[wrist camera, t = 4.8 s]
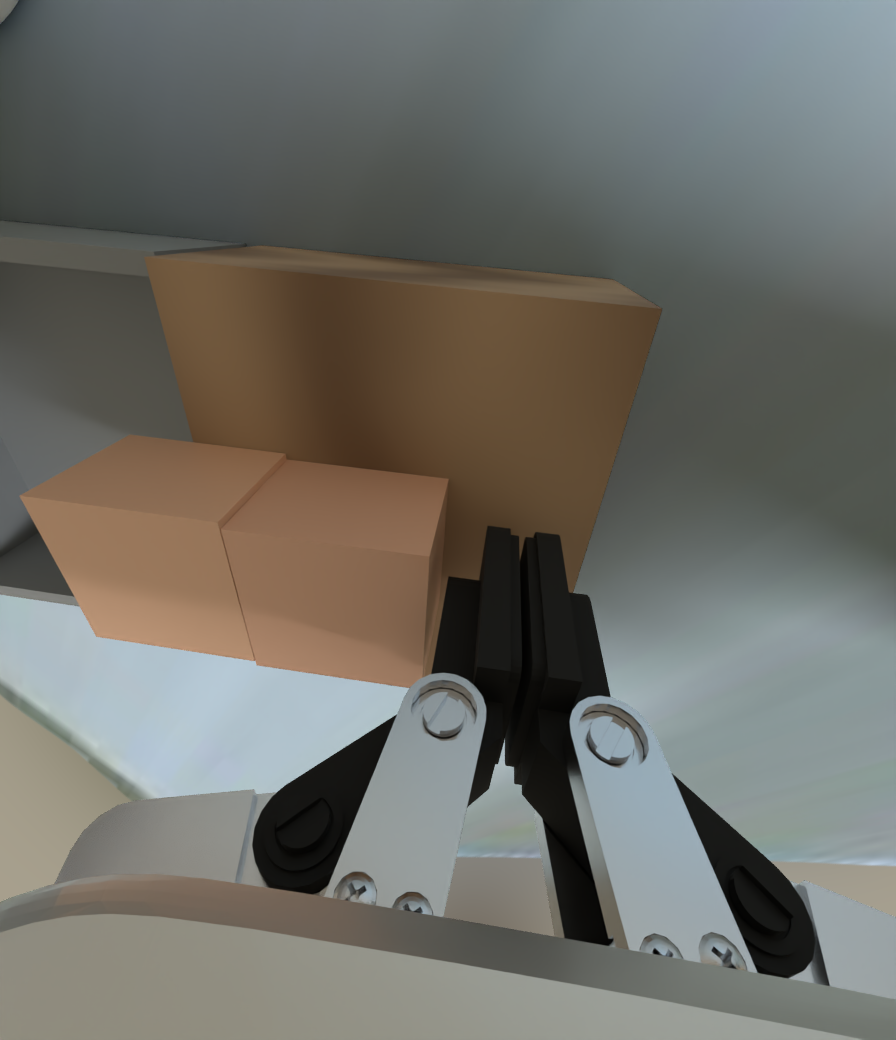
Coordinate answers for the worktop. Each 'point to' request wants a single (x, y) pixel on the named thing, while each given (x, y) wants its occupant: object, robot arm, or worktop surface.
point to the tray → (75, 370)
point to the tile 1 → (340, 570)
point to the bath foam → (6, 8)
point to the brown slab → (415, 379)
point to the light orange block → (153, 539)
